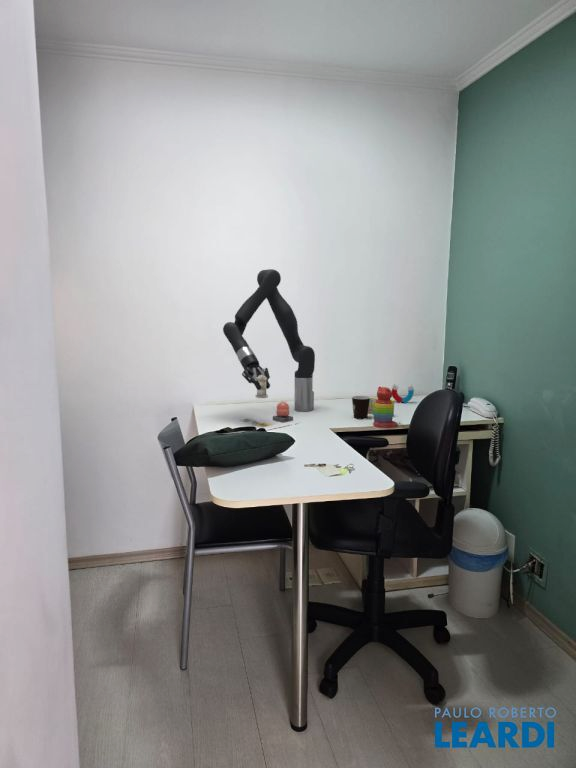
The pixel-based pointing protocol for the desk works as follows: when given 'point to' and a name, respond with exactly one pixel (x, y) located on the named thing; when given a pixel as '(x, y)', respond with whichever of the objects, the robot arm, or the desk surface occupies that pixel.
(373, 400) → the candy box
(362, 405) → the coffee mug
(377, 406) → the stacking bear
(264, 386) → the pawn
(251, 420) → the game board
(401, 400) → the magnet
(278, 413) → the dome
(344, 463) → the desk surface
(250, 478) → the desk surface
